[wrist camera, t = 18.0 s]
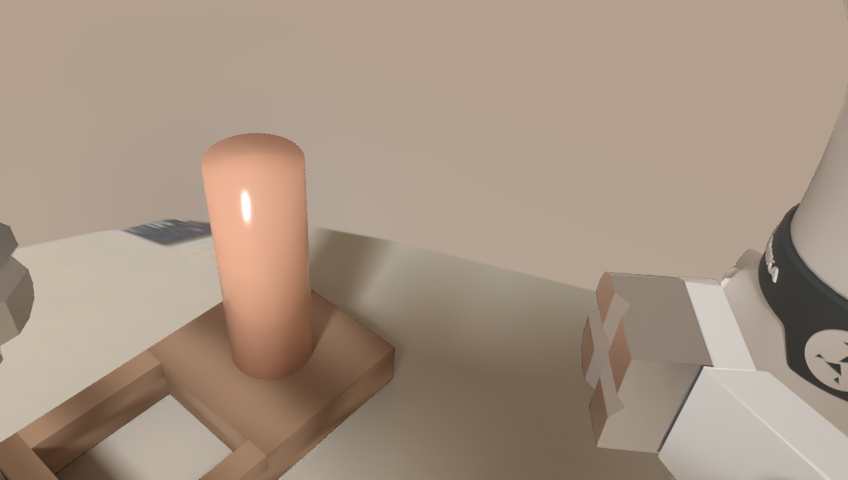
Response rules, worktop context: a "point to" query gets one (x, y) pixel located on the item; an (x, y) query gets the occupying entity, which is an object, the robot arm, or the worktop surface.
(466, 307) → the worktop surface
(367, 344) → the partly covered box
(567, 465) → the worktop surface
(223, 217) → the peach cylinder
